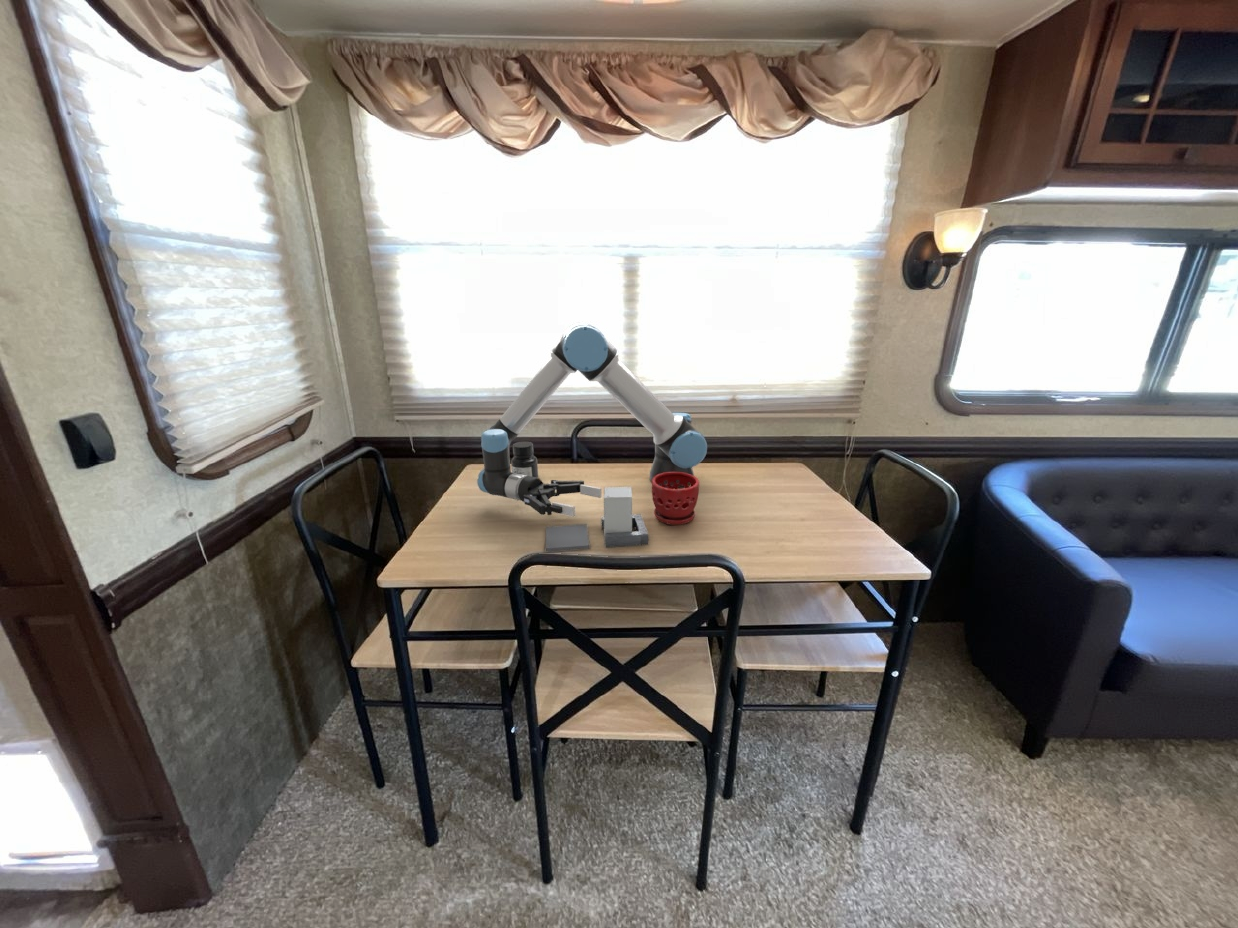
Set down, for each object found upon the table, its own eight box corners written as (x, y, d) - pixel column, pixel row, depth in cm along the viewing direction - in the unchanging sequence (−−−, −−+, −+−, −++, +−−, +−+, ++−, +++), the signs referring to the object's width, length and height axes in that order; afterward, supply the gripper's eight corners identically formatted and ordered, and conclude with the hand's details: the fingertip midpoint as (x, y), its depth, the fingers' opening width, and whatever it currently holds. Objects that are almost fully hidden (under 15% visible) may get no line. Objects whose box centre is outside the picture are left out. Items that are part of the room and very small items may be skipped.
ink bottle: (506, 478, 171) (503, 445, 167) (522, 470, 178) (519, 439, 174) (528, 483, 167) (526, 449, 163) (544, 475, 174) (542, 442, 170)
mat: (586, 527, 135) (586, 524, 135) (589, 548, 124) (589, 545, 124) (546, 529, 134) (546, 526, 134) (545, 551, 123) (545, 548, 123)
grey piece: (640, 523, 137) (640, 514, 136) (648, 544, 126) (648, 534, 125) (601, 526, 136) (601, 516, 135) (605, 547, 125) (605, 537, 124)
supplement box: (632, 542, 127) (632, 497, 123) (603, 542, 127) (602, 497, 123) (632, 529, 134) (631, 486, 130) (604, 529, 134) (603, 486, 130)
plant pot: (643, 513, 143) (643, 475, 139) (682, 505, 148) (684, 468, 144) (664, 532, 132) (665, 491, 128) (706, 523, 137) (708, 483, 133)
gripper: (551, 485, 153) (610, 498, 144) (496, 517, 132) (562, 533, 123) (549, 463, 151) (610, 474, 141) (494, 491, 130) (560, 506, 120)
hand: (588, 501), depth 132 cm, fingers open, 13 cm apart
